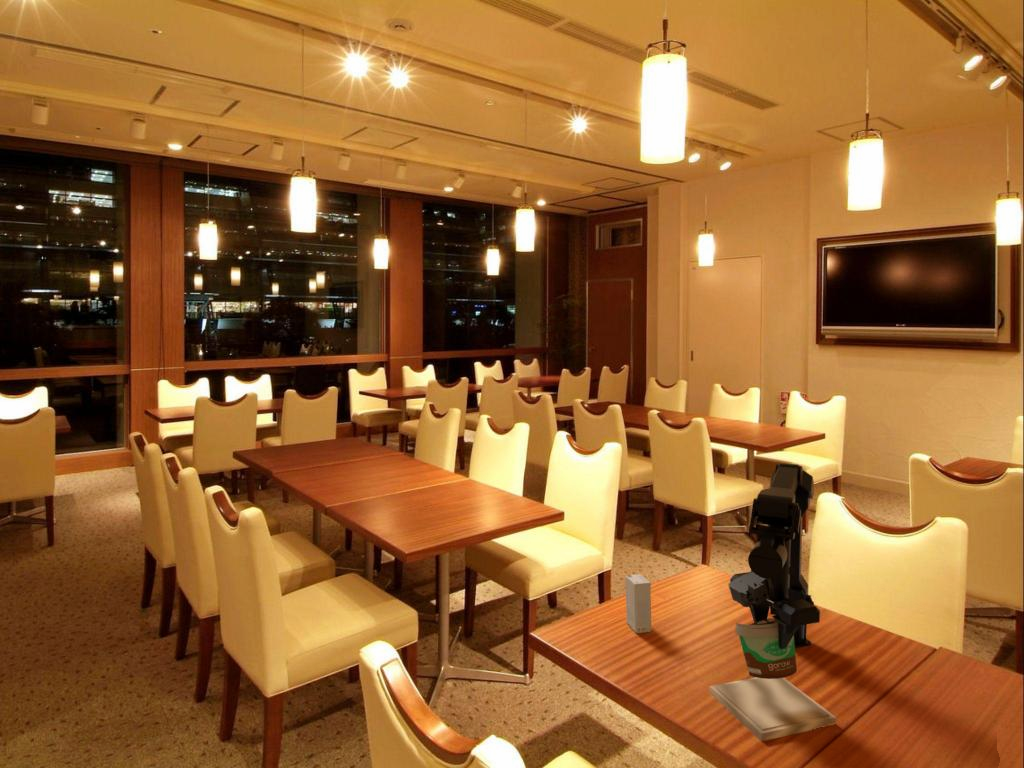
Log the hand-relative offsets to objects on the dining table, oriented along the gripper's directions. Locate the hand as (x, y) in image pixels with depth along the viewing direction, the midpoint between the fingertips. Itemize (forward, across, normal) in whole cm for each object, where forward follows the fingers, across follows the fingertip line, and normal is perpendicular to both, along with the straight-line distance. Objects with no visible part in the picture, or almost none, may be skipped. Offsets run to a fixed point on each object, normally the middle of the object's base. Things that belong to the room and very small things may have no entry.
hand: (771, 640), depth 127 cm
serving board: (+14, 0, 0) cm, 14 cm away
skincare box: (+13, -38, -8) cm, 41 cm away
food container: (+6, +2, +1) cm, 6 cm away
